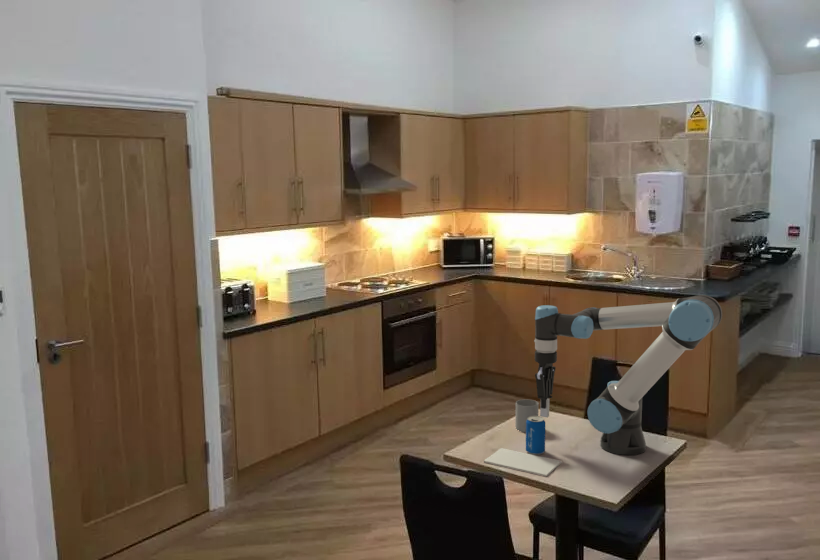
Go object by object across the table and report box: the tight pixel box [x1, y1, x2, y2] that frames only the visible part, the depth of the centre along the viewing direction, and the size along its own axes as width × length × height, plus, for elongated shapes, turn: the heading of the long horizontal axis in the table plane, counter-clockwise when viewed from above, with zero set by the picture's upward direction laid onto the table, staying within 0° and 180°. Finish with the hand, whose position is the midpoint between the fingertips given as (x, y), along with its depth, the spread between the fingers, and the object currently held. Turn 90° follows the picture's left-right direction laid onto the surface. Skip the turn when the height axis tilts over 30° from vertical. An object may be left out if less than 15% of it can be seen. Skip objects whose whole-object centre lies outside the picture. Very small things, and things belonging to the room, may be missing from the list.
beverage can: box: [525, 415, 546, 456], centre depth 244 cm, size 6×6×12 cm
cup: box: [514, 398, 540, 433], centre depth 267 cm, size 8×8×10 cm
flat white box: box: [483, 447, 563, 477], centre depth 236 cm, size 22×13×1 cm, turn 57°
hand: (544, 416), depth 250 cm, fingers closed
